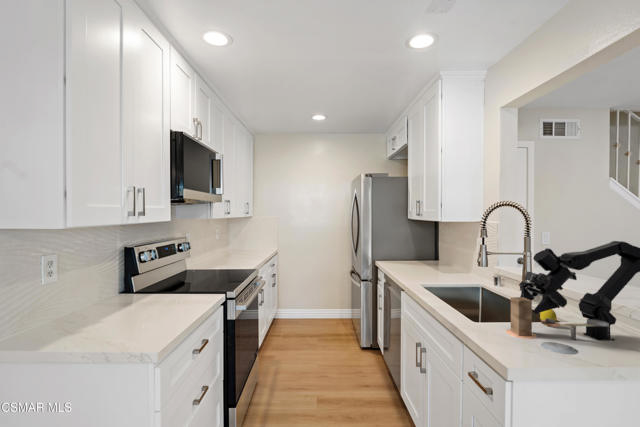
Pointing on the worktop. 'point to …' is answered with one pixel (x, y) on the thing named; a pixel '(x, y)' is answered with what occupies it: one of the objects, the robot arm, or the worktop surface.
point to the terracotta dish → (521, 336)
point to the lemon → (548, 315)
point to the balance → (574, 325)
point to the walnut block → (521, 316)
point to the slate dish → (559, 348)
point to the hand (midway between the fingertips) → (525, 309)
